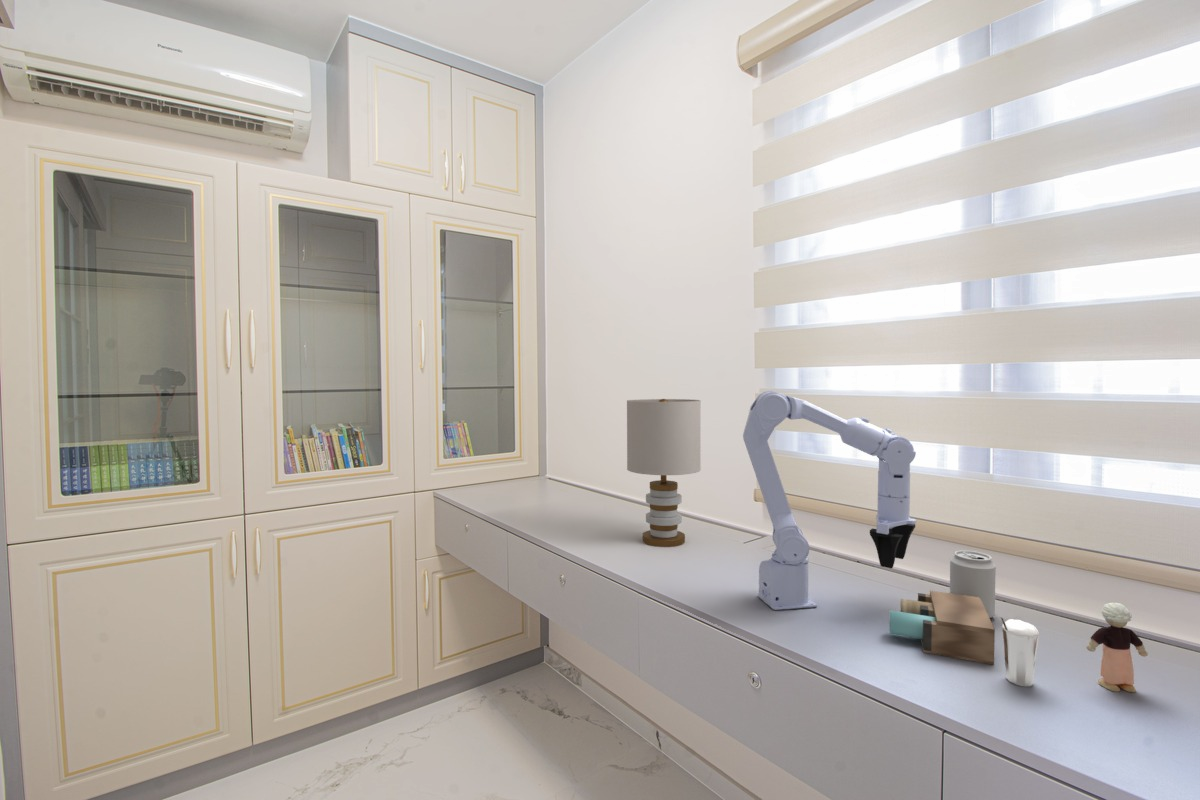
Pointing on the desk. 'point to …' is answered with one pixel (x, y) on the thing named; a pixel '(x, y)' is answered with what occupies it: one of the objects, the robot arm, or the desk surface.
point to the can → (974, 577)
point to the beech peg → (912, 606)
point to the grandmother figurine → (1116, 648)
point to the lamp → (663, 458)
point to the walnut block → (957, 627)
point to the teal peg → (908, 624)
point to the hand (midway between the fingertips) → (892, 562)
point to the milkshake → (1020, 651)
